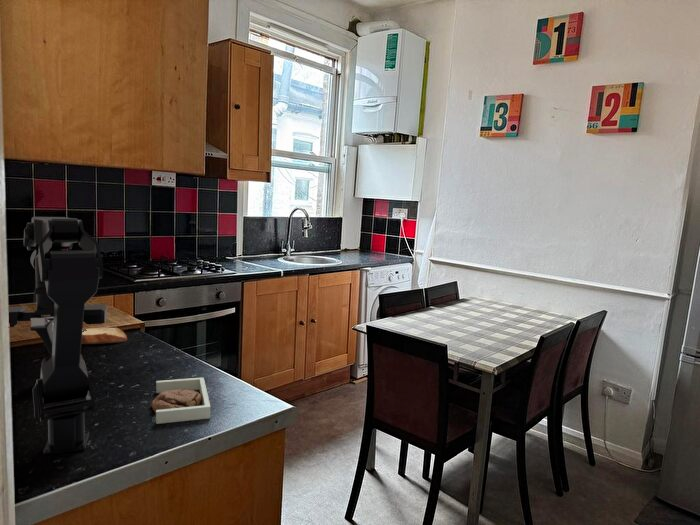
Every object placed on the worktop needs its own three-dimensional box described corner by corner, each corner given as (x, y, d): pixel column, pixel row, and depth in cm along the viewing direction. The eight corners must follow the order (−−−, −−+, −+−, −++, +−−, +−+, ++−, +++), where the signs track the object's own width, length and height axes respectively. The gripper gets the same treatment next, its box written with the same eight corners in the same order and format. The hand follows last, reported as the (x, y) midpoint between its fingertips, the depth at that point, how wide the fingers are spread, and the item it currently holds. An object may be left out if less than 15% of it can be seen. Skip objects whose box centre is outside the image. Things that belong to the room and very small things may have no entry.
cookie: (211, 405, 111) (211, 392, 110) (168, 421, 102) (168, 407, 102) (184, 393, 117) (184, 380, 116) (141, 407, 108) (141, 394, 108)
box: (210, 418, 104) (210, 406, 104) (156, 423, 100) (156, 412, 100) (203, 387, 120) (203, 377, 119) (156, 391, 116) (156, 381, 116)
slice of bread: (42, 340, 149) (42, 328, 148) (102, 329, 163) (102, 318, 163) (72, 354, 138) (72, 341, 138) (133, 341, 153) (133, 329, 152)
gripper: (109, 273, 109) (109, 342, 111) (8, 274, 103) (11, 348, 105) (103, 283, 99) (104, 359, 101) (-9, 284, 92) (-5, 365, 94)
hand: (54, 357), depth 101 cm, fingers closed
